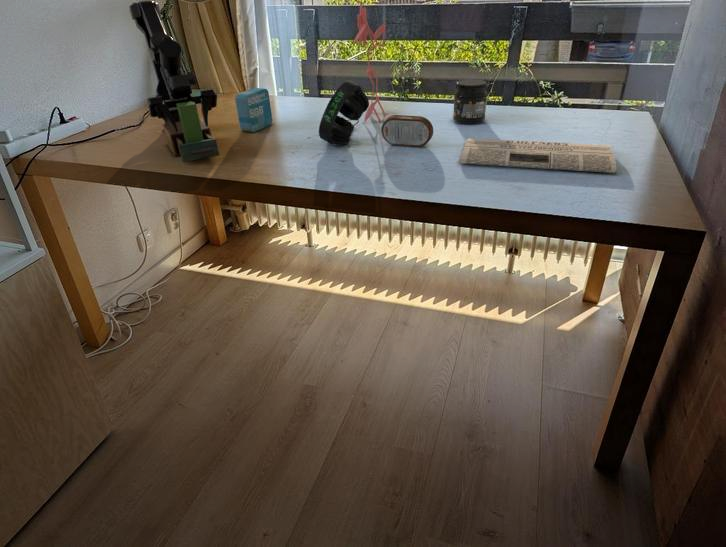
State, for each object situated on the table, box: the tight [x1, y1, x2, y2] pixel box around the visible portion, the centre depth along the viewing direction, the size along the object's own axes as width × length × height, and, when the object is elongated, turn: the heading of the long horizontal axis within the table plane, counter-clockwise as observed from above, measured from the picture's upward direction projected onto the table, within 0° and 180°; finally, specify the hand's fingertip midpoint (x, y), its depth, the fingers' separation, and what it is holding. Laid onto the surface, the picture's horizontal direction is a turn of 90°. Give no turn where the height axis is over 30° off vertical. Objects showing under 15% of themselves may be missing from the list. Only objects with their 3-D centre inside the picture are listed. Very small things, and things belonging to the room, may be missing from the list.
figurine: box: [352, 3, 387, 123], centre depth 162 cm, size 15×26×35 cm, turn 168°
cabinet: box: [162, 118, 212, 157], centre depth 150 cm, size 13×11×6 cm
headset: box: [318, 79, 370, 147], centre depth 146 cm, size 18×14×29 cm
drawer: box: [174, 131, 220, 163], centre depth 141 cm, size 16×10×5 cm, turn 28°
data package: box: [234, 87, 273, 133], centre depth 163 cm, size 12×4×12 cm, turn 152°
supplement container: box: [452, 79, 488, 125], centre depth 159 cm, size 10×10×12 cm
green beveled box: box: [176, 101, 204, 143], centre depth 139 cm, size 4×4×13 cm
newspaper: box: [459, 138, 617, 174], centre depth 129 cm, size 37×19×3 cm, turn 73°
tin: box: [380, 114, 434, 148], centre depth 141 cm, size 15×3×8 cm, turn 71°
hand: (192, 128), depth 138 cm, fingers open, 8 cm apart
